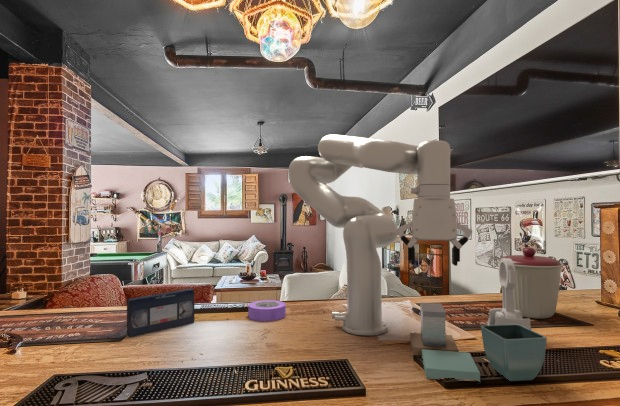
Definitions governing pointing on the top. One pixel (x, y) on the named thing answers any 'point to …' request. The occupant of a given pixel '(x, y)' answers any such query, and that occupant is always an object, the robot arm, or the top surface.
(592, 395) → the top surface
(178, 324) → the vhs cassette tape
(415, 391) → the top surface
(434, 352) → the stand
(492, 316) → the engine component
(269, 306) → the masking tape
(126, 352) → the top surface
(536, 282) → the canister
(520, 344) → the flower pot
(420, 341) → the stand
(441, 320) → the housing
